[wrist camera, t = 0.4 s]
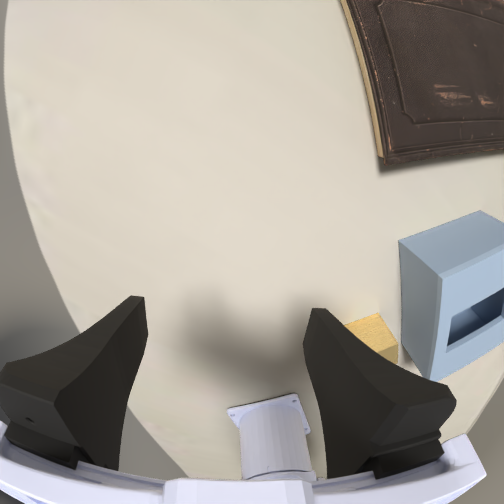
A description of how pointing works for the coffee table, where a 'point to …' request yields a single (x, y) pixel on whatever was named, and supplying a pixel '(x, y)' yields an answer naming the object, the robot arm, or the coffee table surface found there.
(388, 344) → the tan wooden block
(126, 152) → the coffee table surface
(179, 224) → the coffee table surface
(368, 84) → the hardcover book
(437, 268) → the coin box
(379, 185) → the coffee table surface
